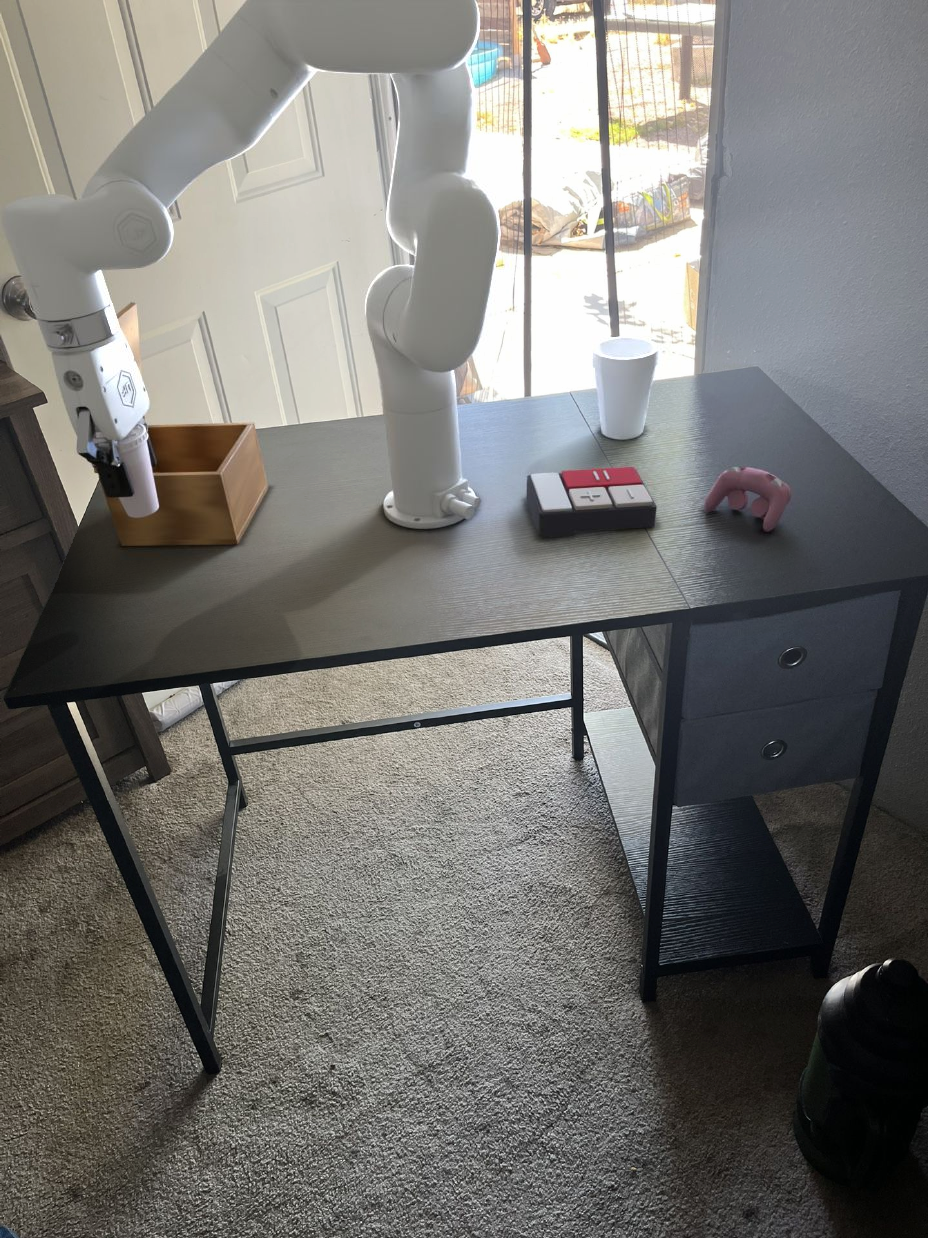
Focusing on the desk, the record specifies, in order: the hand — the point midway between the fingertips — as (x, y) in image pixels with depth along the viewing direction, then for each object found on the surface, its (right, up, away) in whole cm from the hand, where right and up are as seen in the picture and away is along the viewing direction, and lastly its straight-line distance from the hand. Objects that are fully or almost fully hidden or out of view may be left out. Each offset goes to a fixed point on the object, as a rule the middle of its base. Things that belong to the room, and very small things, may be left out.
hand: (132, 479), depth 106 cm
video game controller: (+74, -3, +13) cm, 75 cm away
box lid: (-6, +14, +12) cm, 19 cm away
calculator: (+55, -2, +16) cm, 57 cm away
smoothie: (0, -3, +2) cm, 4 cm away
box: (+1, -2, +22) cm, 23 cm away
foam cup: (+62, +13, +36) cm, 73 cm away
